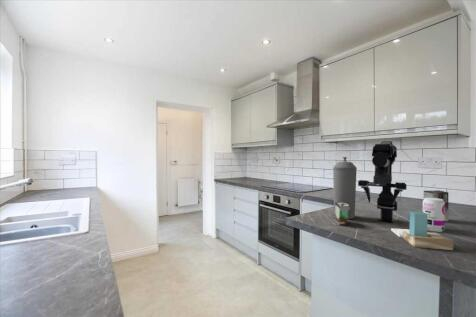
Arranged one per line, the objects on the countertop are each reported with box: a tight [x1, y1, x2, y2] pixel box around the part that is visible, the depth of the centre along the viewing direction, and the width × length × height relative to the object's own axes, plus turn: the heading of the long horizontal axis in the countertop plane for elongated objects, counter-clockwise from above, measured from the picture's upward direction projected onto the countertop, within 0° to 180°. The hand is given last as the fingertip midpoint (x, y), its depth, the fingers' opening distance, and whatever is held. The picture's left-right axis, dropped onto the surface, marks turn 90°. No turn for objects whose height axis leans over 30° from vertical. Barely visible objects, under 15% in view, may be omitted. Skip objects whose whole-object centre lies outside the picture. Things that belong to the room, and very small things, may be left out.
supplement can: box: [422, 197, 446, 233], centre depth 112 cm, size 8×8×15 cm
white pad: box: [390, 228, 410, 238], centre depth 105 cm, size 9×9×1 cm
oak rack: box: [402, 231, 454, 251], centre depth 94 cm, size 10×13×4 cm
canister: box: [332, 156, 358, 220], centre depth 134 cm, size 13×13×35 cm
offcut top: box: [427, 231, 445, 238], centre depth 94 cm, size 7×4×2 cm, turn 165°
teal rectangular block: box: [409, 210, 428, 237], centre depth 96 cm, size 4×4×12 cm
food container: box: [334, 202, 350, 226], centre depth 123 cm, size 12×6×10 cm, turn 168°
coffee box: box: [423, 189, 449, 222], centre depth 128 cm, size 9×6×16 cm
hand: (380, 203), depth 106 cm, fingers open, 9 cm apart
